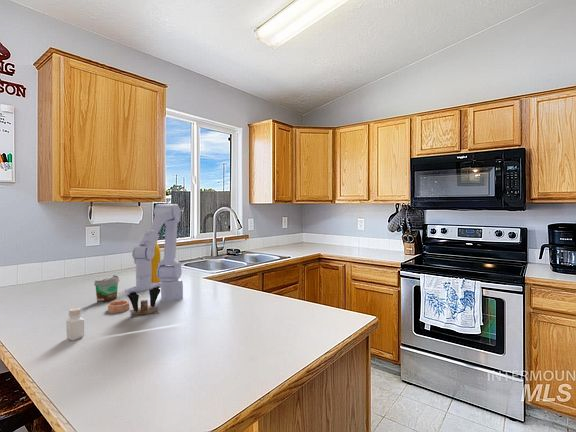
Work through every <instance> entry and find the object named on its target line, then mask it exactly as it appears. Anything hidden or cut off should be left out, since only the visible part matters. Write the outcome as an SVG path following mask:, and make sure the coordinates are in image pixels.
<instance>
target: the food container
mask: <svg viewBox="0 0 576 432" xmlns="http://www.w3.org/2000/svg"><path fill="white" fill-rule="evenodd" d="M119 283H120V278H119V275H112V277H110V278H105V279H104V278H103V279H102V280H94V284H93V285H94V287H95V295H96V302H97V303H107V302H114V301H116V300H117V299H118V288H119V287H118V285H119Z"/></svg>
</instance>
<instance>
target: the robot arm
mask: <svg viewBox="0 0 576 432" xmlns="http://www.w3.org/2000/svg"><path fill="white" fill-rule="evenodd" d="M153 215H154V218H153V220H152V222H151V226H150V228H149V230H146V231H145V233H144V235H143V236H142V238H141V240H140V242H139V244H138V245H136V246H135V247H134V248H133V250H132V253H131V255H132V258H133V263H134V265H135V282H136V283H135V286H132V287H129V288H125V289H124V295H125V296H127V298H128V299H129V302H130V303H131V305H132V310H134V311H136V312H137V311H138V308H139V297H140V294H138V293H140V292H145V291H148V293H149V298H150V299H149V304H150V306H151V307H156V302H157V299H158V297H159V300H160V301H161V302H168V301H174V300H182V299H184V289H183V287H184V284H183V279H182V278H181V277H182V272H183V271H182V265H181V264H182V263H181V262H180V261H179V260H177V258H176V256H177V255H176V254H177V239H178V238H177V237H178V223H180V221H181V208H180V205H178V204H177V203H172V204H169V203H167V204H166V203H165V204H164V203H163V204H160V203H156V205H155V206H154V209H153ZM163 225H165V233H164V247H163V248H164V249H163V258H162V259H161V261H160V262H159V263H158V268H157V272H156V274H157V277H158V278H159V281H161V283H160V282H159V283H152V275H151V259H152V258H153V257H154V252H155V245H156V243H157V244H158V240H159V238H160V234H159V232H160V230H161V229H162V227H163ZM159 294H160V296H159Z"/></svg>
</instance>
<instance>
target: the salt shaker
mask: <svg viewBox="0 0 576 432" xmlns="http://www.w3.org/2000/svg"><path fill="white" fill-rule="evenodd" d="M68 311H69V312H68V315H69V318H68V319H67V320H66V339H68V340H70V341H77V340H79V339H81V338H83V337H84V336H85V319H84V317H82V316H81V315H82V309H81V308H80V307H74V308H70V309H68Z"/></svg>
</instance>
